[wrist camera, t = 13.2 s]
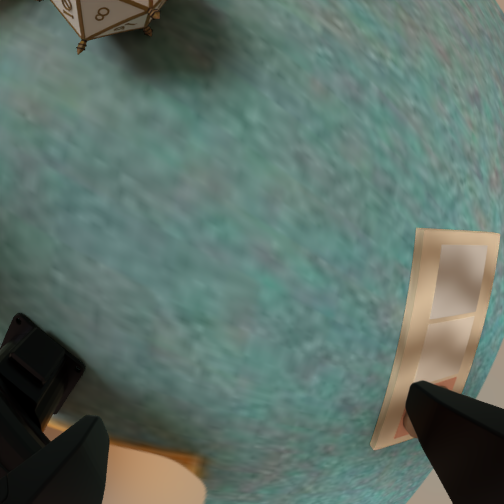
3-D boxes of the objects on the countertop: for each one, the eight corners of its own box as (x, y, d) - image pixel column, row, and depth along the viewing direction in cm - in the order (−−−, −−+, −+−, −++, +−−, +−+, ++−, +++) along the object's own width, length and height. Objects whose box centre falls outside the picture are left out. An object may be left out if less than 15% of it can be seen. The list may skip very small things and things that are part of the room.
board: (443, 420, 28) (448, 425, 26) (369, 444, 26) (374, 451, 25) (492, 232, 23) (501, 234, 22) (416, 227, 22) (424, 230, 21)
